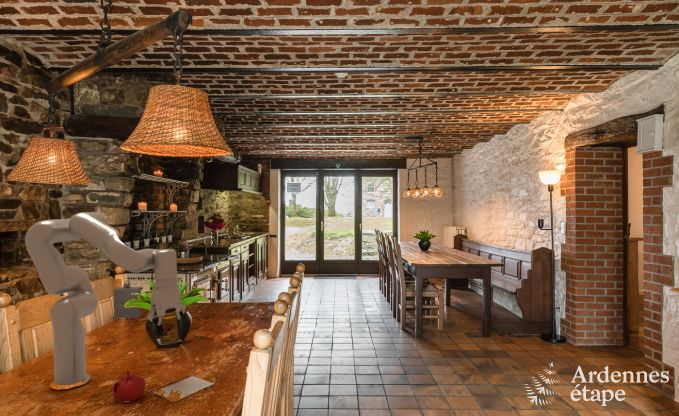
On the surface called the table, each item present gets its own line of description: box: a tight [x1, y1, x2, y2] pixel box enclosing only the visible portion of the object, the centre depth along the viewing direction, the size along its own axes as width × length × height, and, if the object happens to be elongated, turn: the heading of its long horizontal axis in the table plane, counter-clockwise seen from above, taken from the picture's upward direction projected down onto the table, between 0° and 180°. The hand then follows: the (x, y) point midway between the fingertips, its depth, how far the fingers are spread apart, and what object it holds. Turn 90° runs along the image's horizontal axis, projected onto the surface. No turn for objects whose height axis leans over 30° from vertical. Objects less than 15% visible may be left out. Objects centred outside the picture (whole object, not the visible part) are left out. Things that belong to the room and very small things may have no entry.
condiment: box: [155, 308, 183, 346], centre depth 152 cm, size 7×8×12 cm
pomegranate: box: [112, 370, 146, 403], centre depth 139 cm, size 10×10×9 cm
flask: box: [113, 282, 142, 320], centre depth 241 cm, size 15×6×20 cm, turn 93°
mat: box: [153, 375, 215, 398], centre depth 145 cm, size 12×16×1 cm
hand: (167, 332), depth 151 cm, fingers closed on condiment, 6 cm apart
